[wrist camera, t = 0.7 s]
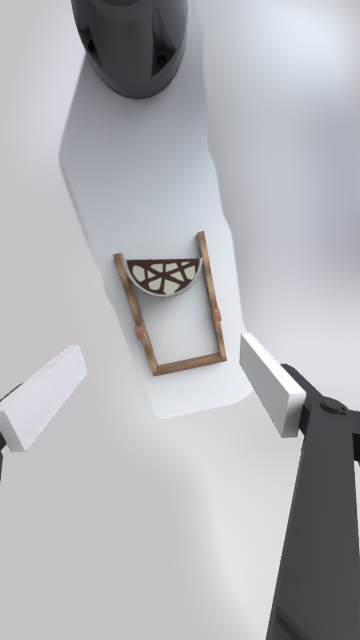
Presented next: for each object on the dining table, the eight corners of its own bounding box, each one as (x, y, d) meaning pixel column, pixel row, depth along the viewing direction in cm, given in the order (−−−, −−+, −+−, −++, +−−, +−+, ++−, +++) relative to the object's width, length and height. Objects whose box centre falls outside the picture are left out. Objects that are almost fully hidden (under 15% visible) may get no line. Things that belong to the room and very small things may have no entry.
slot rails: (117, 255, 35) (109, 254, 31) (202, 232, 34) (205, 229, 30) (155, 370, 43) (152, 381, 39) (224, 355, 42) (229, 365, 38)
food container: (138, 291, 37) (124, 301, 28) (135, 260, 35) (119, 259, 26) (197, 289, 37) (203, 299, 28) (197, 258, 35) (204, 257, 26)
